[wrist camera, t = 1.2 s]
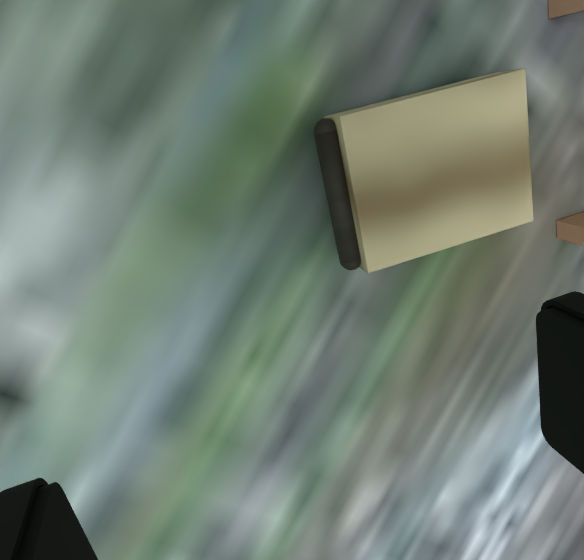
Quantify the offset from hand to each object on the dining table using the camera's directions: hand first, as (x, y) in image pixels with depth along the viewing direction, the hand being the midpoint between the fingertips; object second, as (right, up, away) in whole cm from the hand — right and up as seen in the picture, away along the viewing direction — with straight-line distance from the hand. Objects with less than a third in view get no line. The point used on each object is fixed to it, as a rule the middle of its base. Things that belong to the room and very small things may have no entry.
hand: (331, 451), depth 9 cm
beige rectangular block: (+6, +10, +20) cm, 23 cm away
